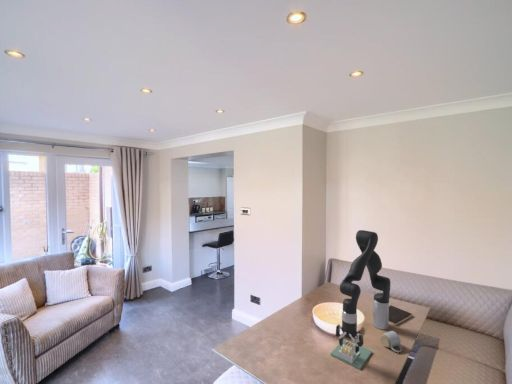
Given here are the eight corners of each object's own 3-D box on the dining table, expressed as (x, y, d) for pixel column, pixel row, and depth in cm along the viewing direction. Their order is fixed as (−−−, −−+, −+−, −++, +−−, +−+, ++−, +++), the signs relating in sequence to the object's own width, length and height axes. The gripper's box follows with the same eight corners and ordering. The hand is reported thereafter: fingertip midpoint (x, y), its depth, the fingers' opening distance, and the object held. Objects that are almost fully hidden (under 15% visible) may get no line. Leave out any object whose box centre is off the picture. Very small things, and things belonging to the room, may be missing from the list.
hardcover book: (412, 317, 182) (412, 313, 182) (395, 326, 170) (395, 323, 170) (390, 307, 196) (390, 304, 196) (372, 316, 183) (372, 313, 183)
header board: (344, 340, 153) (344, 329, 153) (372, 352, 143) (372, 341, 142) (330, 355, 140) (330, 343, 140) (359, 369, 129) (360, 357, 129)
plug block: (346, 351, 142) (346, 340, 142) (354, 355, 139) (354, 344, 139) (342, 355, 138) (342, 344, 138) (350, 359, 135) (351, 348, 135)
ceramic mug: (379, 343, 151) (379, 330, 150) (389, 340, 154) (390, 328, 153) (394, 355, 141) (395, 341, 141) (405, 351, 144) (406, 338, 144)
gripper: (365, 321, 136) (364, 350, 136) (339, 312, 145) (339, 339, 146) (360, 327, 130) (359, 358, 131) (333, 317, 140) (333, 345, 140)
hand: (348, 348), depth 138 cm, fingers open, 8 cm apart
